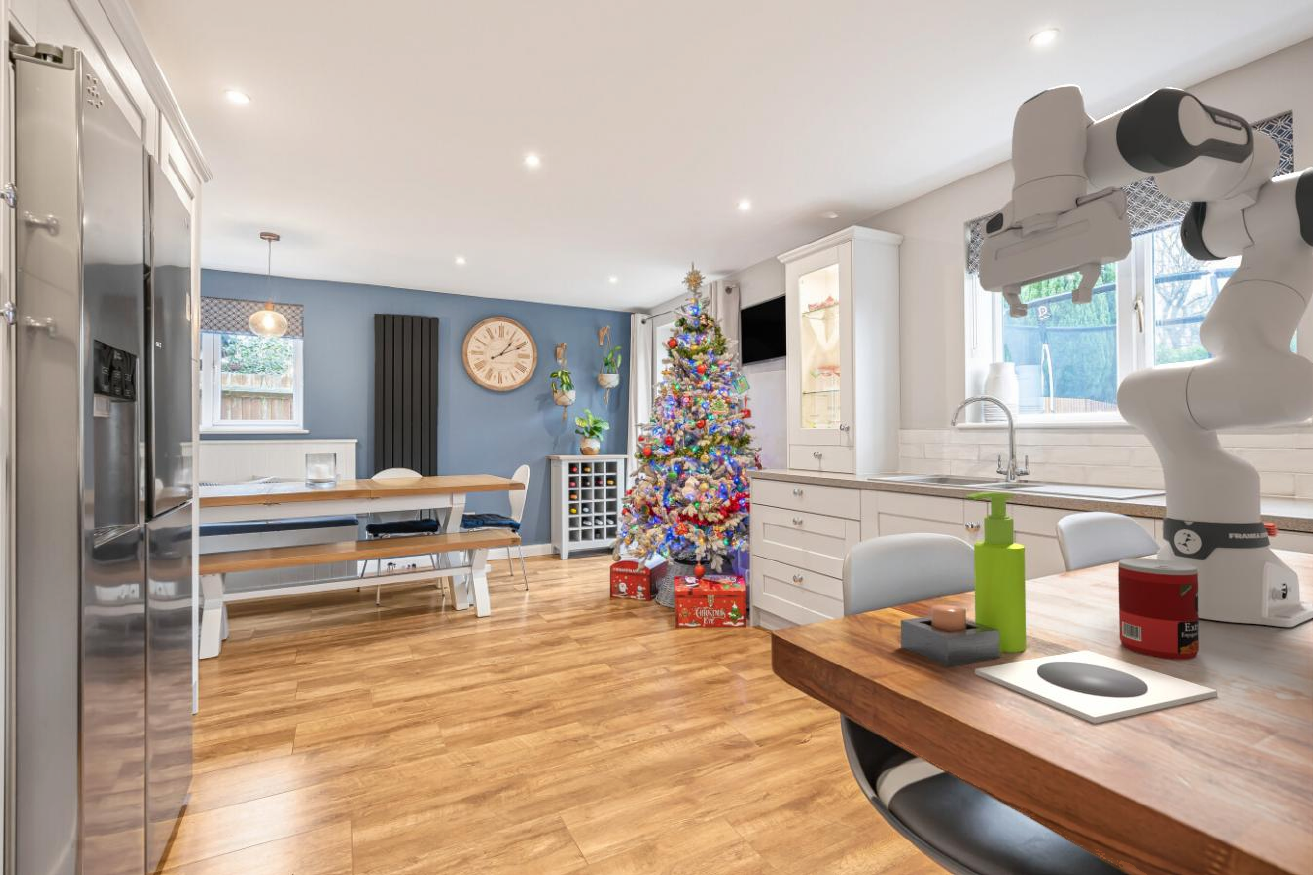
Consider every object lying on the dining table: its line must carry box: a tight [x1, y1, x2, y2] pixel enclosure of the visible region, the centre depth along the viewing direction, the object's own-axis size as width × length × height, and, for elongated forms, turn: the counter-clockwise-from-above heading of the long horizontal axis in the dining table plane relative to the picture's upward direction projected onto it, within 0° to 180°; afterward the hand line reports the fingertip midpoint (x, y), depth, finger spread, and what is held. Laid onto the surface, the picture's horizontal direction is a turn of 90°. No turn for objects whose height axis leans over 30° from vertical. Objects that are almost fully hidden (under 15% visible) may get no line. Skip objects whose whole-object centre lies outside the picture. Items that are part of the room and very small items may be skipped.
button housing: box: [900, 615, 1000, 668], centre depth 82 cm, size 8×8×4 cm
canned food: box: [1117, 557, 1200, 661], centre depth 82 cm, size 8×8×11 cm
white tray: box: [974, 649, 1218, 725], centre depth 70 cm, size 18×14×1 cm
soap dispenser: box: [965, 491, 1027, 653], centre depth 84 cm, size 6×7×20 cm
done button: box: [930, 604, 967, 632], centre depth 82 cm, size 4×4×3 cm
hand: (1048, 310), depth 88 cm, fingers open, 8 cm apart
